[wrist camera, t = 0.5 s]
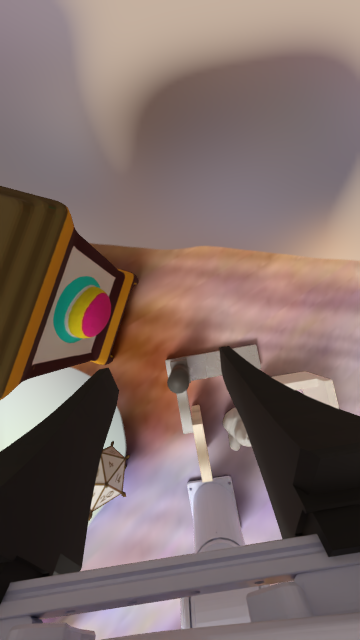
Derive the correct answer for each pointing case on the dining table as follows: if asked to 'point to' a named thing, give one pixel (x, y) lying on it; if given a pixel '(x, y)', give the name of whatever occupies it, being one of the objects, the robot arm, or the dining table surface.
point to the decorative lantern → (53, 292)
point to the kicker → (179, 385)
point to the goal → (311, 386)
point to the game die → (108, 478)
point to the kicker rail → (214, 362)
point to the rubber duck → (235, 430)
